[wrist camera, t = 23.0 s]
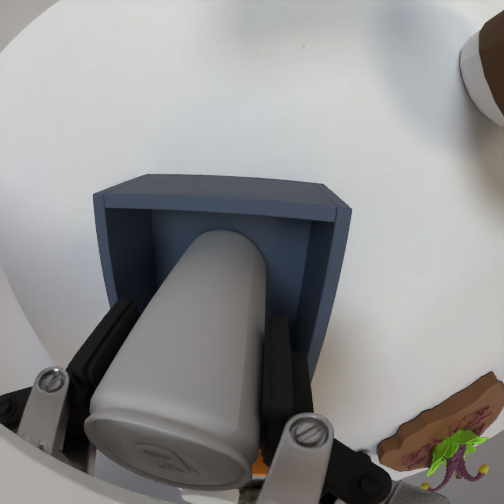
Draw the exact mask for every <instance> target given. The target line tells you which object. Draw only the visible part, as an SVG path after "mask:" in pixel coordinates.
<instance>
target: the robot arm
mask: <svg viewBox="0 0 504 504" xmlns="http://www.w3.org/2000/svg"><path fill="white" fill-rule="evenodd" d="M139 318H140V313H139V307H138V305H136V304H135V303H134V301H133V300H128V299H122V298H120V299H118V300H117V302H116V303H115V304H114V305H113V307H112V308H111V309H110V310H109V312H108V313H107V314H106V315H105V317H104V318H103V319H102V320H101V322H100V323H99V324H98V326H97V327H96V328H95V329H94V331H93V332H92V333H91V335H90V336H89V337H88V339H87V340H86V341H85V343H84V344H83V345H82V347H81V348H80V349H79V351H78V352H77V353H76V355H75V356H74V358H73V359H72V360H71V362H70V363H69V364H68V367H67V368H66V370H64V369H63V368H61V367H57V366H55V367H49V368H46V369H44V370H42V371H41V372H40V373H39V374H38V376H37V378H36V380H35V382H34V385H33V386H32V387H28V388H25V389H21V390H18V391H14V392H10V393H7V394H4V395H1V396H0V504H176V503H171V502H167V501H163V500H159V499H156V498H152V497H148V496H145V495H142V494H139V493H135V492H132V491H129V490H126V489H123V488H121V487H118V486H115V485H112V484H110V483H107V482H105V481H102V480H100V479H97V478H95V477H94V469H95V458H96V449H97V448H96V447H95V446H94V445H93V444H92V442H91V441H90V440H89V439H88V437H87V435H86V433H85V431H84V422H85V420H86V419H87V418H88V417H89V416H90V415H91V414H90V412H89V411H90V402H91V398H92V396H93V394H94V392H95V390H96V389H97V387H98V385H99V383H100V382H101V380H102V378H103V377H104V375H105V373H106V371H107V370H108V368H109V366H110V365H111V363H112V361H113V360H114V358H115V356H116V355H117V353H118V351H119V350H120V348H121V346H122V345H123V343H124V342H125V340H126V338H127V337H128V335H129V333H130V332H131V330H132V329H133V327H134V326H135V324H136V322H137V321H138V319H139ZM259 449H262V450H261V457H263V463H264V464H266V465H267V466H268V467H269V468H270V469H269V471H268V474H267V476H266V479H265V481H264V484H263V486H262V489H261V491H260V493H259V496H258V498H257V501H256V503H255V504H450V502H449V500H448V499H447V497H445V496H443V495H441V494H438V493H434V492H431V491H428V490H425V489H422V488H420V487H417V486H414V485H411V484H409V483H406V482H403V481H401V480H400V481H399V482H396V481H394V480H391V477H390V475H389V474H388V473H387V472H386V471H385V470H384V469H382V468H381V467H379V466H377V465H376V464H374V463H372V462H371V461H369V460H367V459H366V458H364V457H363V456H361V455H359V454H358V453H356V452H355V451H353V450H352V449H350V448H349V447H347V446H346V445H344V444H343V443H341V442H340V441H338V440H337V439H335V438H334V429H333V426H332V424H331V423H330V422H329V421H328V419H326V418H325V417H323V416H322V415H319V414H316V413H314V410H313V401H312V392H311V384H310V376H309V368H308V360H307V354H306V353H294V352H290V339H289V326H288V317H278V316H273V317H272V320H267V321H266V329H265V337H264V350H263V376H262V398H261V419H260V443H259Z"/></svg>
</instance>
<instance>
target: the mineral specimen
mask: <svg viewBox="0 0 504 504" xmlns="http://www.w3.org/2000/svg"><path fill="white" fill-rule="evenodd" d="M260 491H261V489H253V488H244V489H241V490H239V494H240V495H239V499H238V504H255V503H256V501H257V498H258V496H259V493H260Z"/></svg>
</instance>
